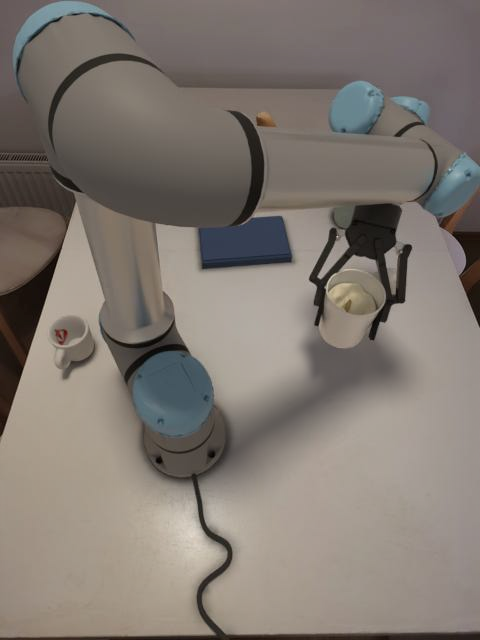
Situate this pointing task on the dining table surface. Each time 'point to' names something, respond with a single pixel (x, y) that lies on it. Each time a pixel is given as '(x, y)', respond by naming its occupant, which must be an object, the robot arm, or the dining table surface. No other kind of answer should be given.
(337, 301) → the candle holder
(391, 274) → the pebble
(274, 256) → the blue book
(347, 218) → the disposable coffee cup
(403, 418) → the dining table surface
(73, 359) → the cup
